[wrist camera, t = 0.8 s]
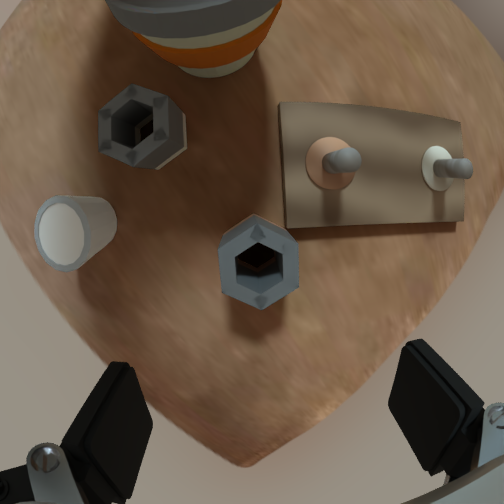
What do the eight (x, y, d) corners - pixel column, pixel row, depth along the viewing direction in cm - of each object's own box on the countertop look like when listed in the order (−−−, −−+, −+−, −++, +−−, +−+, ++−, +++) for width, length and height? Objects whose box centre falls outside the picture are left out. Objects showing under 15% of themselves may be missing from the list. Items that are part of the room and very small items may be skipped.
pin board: (277, 105, 25) (287, 85, 19) (452, 123, 26) (487, 117, 19) (284, 226, 28) (296, 238, 22) (456, 219, 28) (491, 229, 22)
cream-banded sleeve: (129, 109, 25) (98, 92, 18) (185, 99, 25) (168, 75, 18) (131, 173, 26) (99, 172, 20) (188, 166, 26) (170, 161, 20)
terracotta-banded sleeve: (222, 215, 28) (215, 226, 21) (284, 211, 28) (297, 220, 21) (228, 282, 29) (224, 312, 23) (286, 278, 29) (299, 307, 23)
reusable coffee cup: (172, 112, 25) (108, 54, 11) (143, 24, 22) (89, -51, 8) (292, 73, 24) (334, -11, 10) (250, -11, 21) (255, -101, 7)
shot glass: (62, 209, 27) (24, 218, 20) (106, 178, 26) (70, 180, 20) (87, 263, 28) (53, 283, 22) (133, 236, 28) (103, 253, 21)
